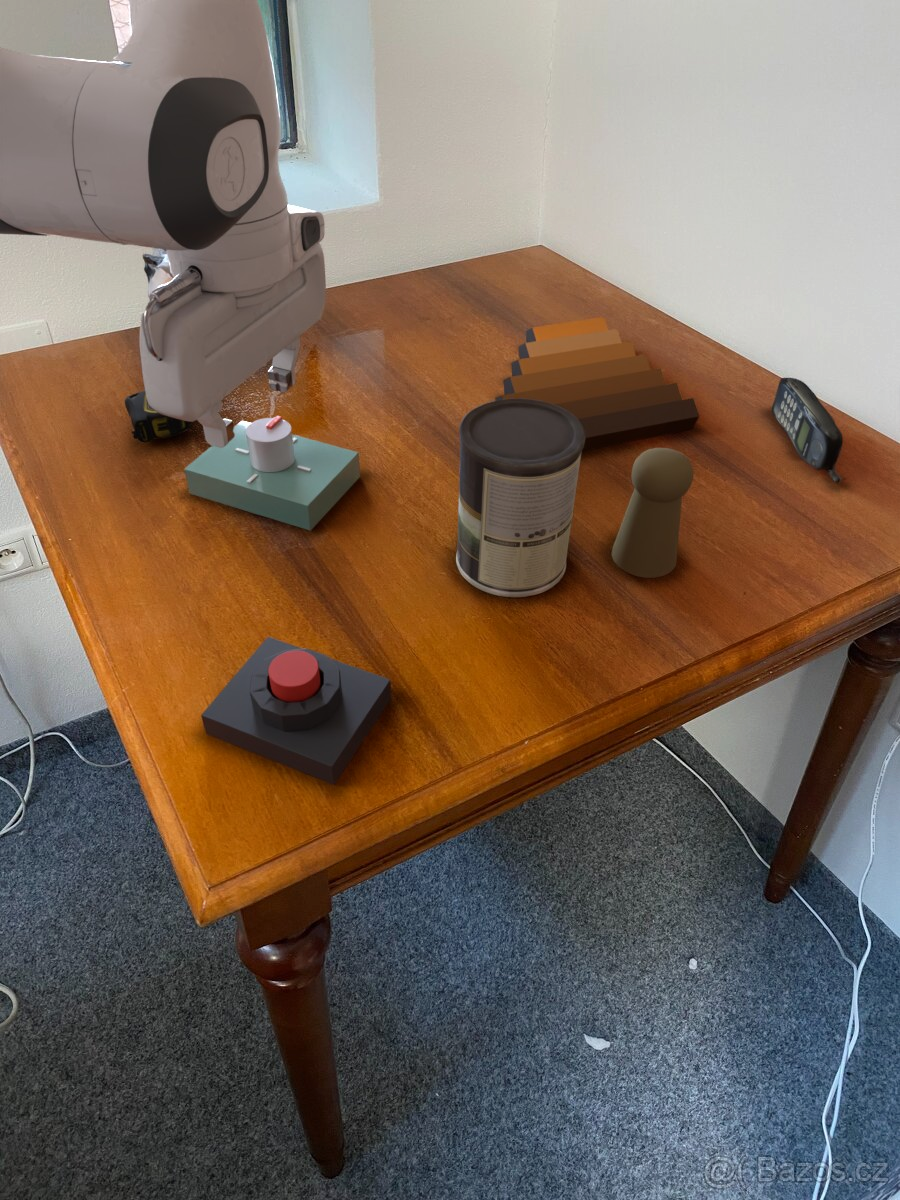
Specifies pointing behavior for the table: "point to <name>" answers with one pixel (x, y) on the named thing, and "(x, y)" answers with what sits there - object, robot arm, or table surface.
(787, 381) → the mobile phone
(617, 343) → the pan flute
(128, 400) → the tape measure
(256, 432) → the rotary dial knob
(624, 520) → the game pawn
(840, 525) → the table surface
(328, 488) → the rotary dial box
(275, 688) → the button
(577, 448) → the coffee can
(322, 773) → the button block
